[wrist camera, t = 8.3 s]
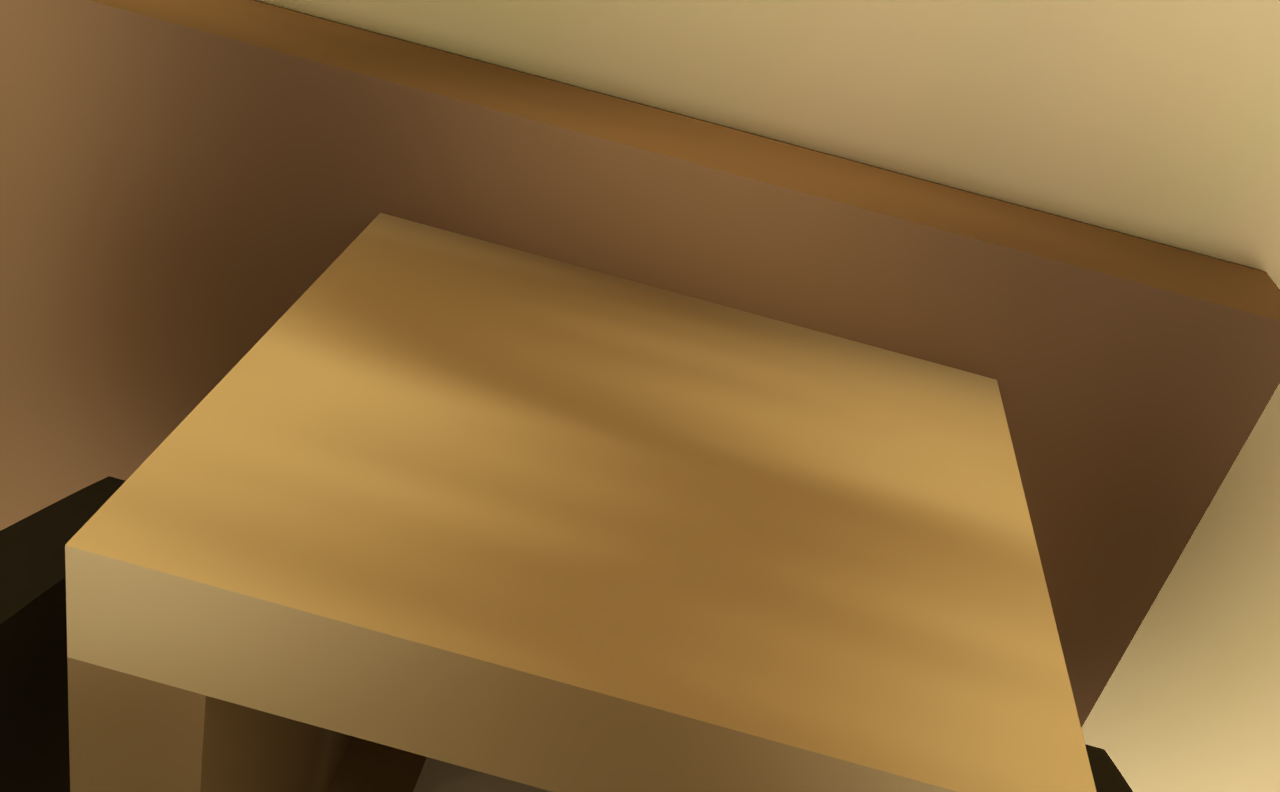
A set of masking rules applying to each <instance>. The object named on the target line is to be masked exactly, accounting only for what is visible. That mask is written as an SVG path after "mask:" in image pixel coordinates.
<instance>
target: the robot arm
mask: <svg viewBox="0 0 1280 792" xmlns="http://www.w3.org/2000/svg"><path fill="white" fill-rule="evenodd" d="M124 482H125V480H121V479H118V478H114V477H110V476H108V477H106V478H104V479H102V480H100V481H98V482H96V483H94V484H91V485H89V486H87V487H85V488H83V489H81V490H79V491H77V492H75V493H73V494H71V495H69V496H67V497H65V498H63V499H61V500H59V501H57V502H55V503H53V504H51V505H50V506H48V507H46V508H44V509H42V510H40V511H38V512H36V513H34V514H32V515H30V516H28V517H26V518H24V519H22V520H20V521H18V522H17V523H15V524H13V525H11V526H9V527H7V528H5V529H3V530H1V531H0V792H70V759H69V712H68V665H67V618H66V571H65V545H66V543H67V542H68V541H69V540H70V539H71V538H72V537H73V536H74V535H75V534H76V533H77V532H78V531H79V530H80V529H81V528H82V527H83V526H84V525H85V523H86V522H87V521H88V520H89V519H90V518H91V517H92V516H93V515H94V514H95V513H96V512H97V511H98V510H99V509H100V508H101V507H102V506H103V504H104V503H105V502H106V501H107V500H108V499H109V498H110V497H111V496H112V495H113V494H114V493H115V492H116V491H117V490H118V489H119V488H120V487H121V486H122V484H123V483H124ZM1085 746H1086V750H1087V754H1088V759H1089V763H1090V767H1091V771H1092V775H1093V779H1094V783H1095V788H1096V792H1133V791H1132V790H1131V788H1130V787H1129V785H1128V784H1127V782H1126V781H1125V779H1124V778H1123V776H1122V775H1121V773H1120V772H1119V770H1118V769H1117V767H1116V766H1115V764H1114V763H1113V761H1112V760H1111V759H1110V757H1109V756H1108V754H1107V753H1106V751H1105V750H1104V749H1100V748H1097V747H1093V746H1089V745H1086V744H1085Z"/></svg>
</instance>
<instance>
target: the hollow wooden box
mask: <svg viewBox="0 0 1280 792" xmlns="http://www.w3.org/2000/svg"><path fill="white" fill-rule="evenodd" d="M65 571H66V618H67V665H68V712H69V759H70V792H413V791H414V788H415V786H416V783H417V781H418V778H419V776H420V773H421V771H422V768H423V766H424V763H425V761H426V758H427V757H429V758H433V759H436V760H440V761H444V762H447V763H451V764H454V765H458V766H462V767H465V768H469V769H472V770H476V771H480V772H483V773H487V774H490V775H494V776H498V777H501V778H505V779H508V780H512V781H516V782H519V783H523V784H526V785H530V786H534V787H537V788H541V789H544V790H548V791H552V792H1096V788H1095V783H1094V779H1093V775H1092V771H1091V767H1090V763H1089V759H1088V754H1087V750H1086V746H1085V742H1084V738H1083V734H1082V730H1081V726H1080V721H1079V717H1078V713H1077V709H1076V705H1075V701H1074V697H1073V692H1072V688H1071V684H1070V680H1069V676H1068V672H1067V668H1066V664H1065V659H1064V655H1063V651H1062V647H1061V643H1060V639H1059V635H1058V630H1057V626H1056V622H1055V618H1054V614H1053V610H1052V606H1051V602H1050V597H1049V593H1048V589H1047V585H1046V581H1045V577H1044V573H1043V568H1042V564H1041V560H1040V556H1039V552H1038V548H1037V544H1036V540H1035V535H1034V531H1033V527H1032V523H1031V519H1030V515H1029V511H1028V506H1027V502H1026V498H1025V494H1024V490H1023V486H1022V482H1021V478H1020V473H1019V469H1018V465H1017V461H1016V457H1015V453H1014V449H1013V444H1012V440H1011V436H1010V432H1009V428H1008V424H1007V420H1006V416H1005V411H1004V407H1003V403H1002V399H1001V395H1000V391H999V387H998V382H997V380H996V379H992V378H988V377H985V376H981V375H977V374H974V373H970V372H966V371H963V370H959V369H955V368H951V367H948V366H944V365H940V364H937V363H933V362H929V361H926V360H922V359H918V358H915V357H911V356H907V355H904V354H900V353H896V352H892V351H889V350H885V349H881V348H878V347H874V346H870V345H867V344H863V343H859V342H856V341H852V340H848V339H845V338H841V337H837V336H833V335H830V334H826V333H822V332H819V331H815V330H811V329H808V328H804V327H800V326H797V325H793V324H789V323H786V322H782V321H778V320H774V319H771V318H767V317H763V316H760V315H756V314H752V313H749V312H745V311H741V310H738V309H734V308H730V307H727V306H723V305H719V304H715V303H712V302H708V301H704V300H701V299H697V298H693V297H690V296H686V295H682V294H679V293H675V292H671V291H668V290H664V289H660V288H656V287H653V286H649V285H645V284H642V283H638V282H634V281H631V280H627V279H623V278H620V277H616V276H612V275H608V274H605V273H601V272H597V271H594V270H590V269H586V268H583V267H579V266H575V265H572V264H568V263H564V262H561V261H557V260H553V259H549V258H546V257H542V256H538V255H535V254H531V253H527V252H524V251H520V250H516V249H513V248H509V247H505V246H502V245H498V244H494V243H490V242H487V241H483V240H479V239H476V238H472V237H468V236H465V235H461V234H457V233H454V232H450V231H446V230H443V229H439V228H435V227H431V226H428V225H424V224H420V223H417V222H413V221H409V220H406V219H402V218H398V217H395V216H391V215H387V214H384V213H380V214H379V215H378V216H377V217H376V218H375V219H374V220H373V221H372V222H371V223H370V224H369V225H368V226H367V227H366V228H365V229H364V231H363V232H362V233H361V234H360V235H359V236H358V237H357V238H356V239H355V240H354V241H353V242H352V243H351V244H350V245H349V246H348V247H347V248H346V249H345V251H344V252H343V253H342V254H341V255H340V256H339V257H338V258H337V259H336V260H335V261H334V262H333V263H332V264H331V265H330V266H329V267H328V268H327V270H326V271H325V272H324V273H323V274H322V275H321V276H320V277H319V278H318V279H317V280H316V281H315V282H314V283H313V284H312V285H311V286H310V287H309V288H308V290H307V291H306V292H305V293H304V294H303V295H302V296H301V297H300V298H299V299H298V300H297V301H296V302H295V303H294V304H293V305H292V306H291V307H290V309H289V310H288V311H287V312H286V313H285V314H284V315H283V316H282V317H281V318H280V319H279V320H278V321H277V322H276V323H275V324H274V325H273V326H272V327H271V329H270V330H269V331H268V332H267V333H266V334H265V335H264V336H263V337H262V338H261V339H260V340H259V341H258V342H257V343H256V344H255V345H254V346H253V347H252V349H251V350H250V351H249V352H248V353H247V354H246V355H245V356H244V357H243V358H242V359H241V360H240V361H239V362H238V363H237V364H236V365H235V366H234V368H233V369H232V370H231V371H230V372H229V373H228V374H227V375H226V376H225V377H224V378H223V379H222V380H221V381H220V382H219V383H218V384H217V385H216V386H215V388H214V389H213V390H212V391H211V392H210V393H209V394H208V395H207V396H206V397H205V398H204V399H203V400H202V401H201V402H200V403H199V404H198V405H197V407H196V408H195V409H194V410H193V411H192V412H191V413H190V414H189V415H188V416H187V417H186V418H185V419H184V420H183V421H182V422H181V423H180V424H179V425H178V427H177V428H176V429H175V430H174V431H173V432H172V433H171V434H170V435H169V436H168V437H167V438H166V439H165V440H164V441H163V442H162V443H161V444H160V445H159V447H158V448H157V449H156V450H155V451H154V452H153V453H152V454H151V455H150V456H149V457H148V458H147V459H146V460H145V461H144V462H143V463H142V464H141V466H140V467H139V468H138V469H137V470H136V471H135V472H134V473H133V474H132V475H131V476H130V477H129V478H128V479H127V480H126V481H125V482H124V483H123V484H122V486H121V487H120V488H119V489H118V490H117V491H116V492H115V493H114V494H113V495H112V496H111V497H110V498H109V499H108V500H107V501H106V502H105V503H104V504H103V506H102V507H101V508H100V509H99V510H98V511H97V512H96V513H95V514H94V515H93V516H92V517H91V518H90V519H89V520H88V521H87V522H86V523H85V525H84V526H83V527H82V528H81V529H80V530H79V531H78V532H77V533H76V534H75V535H74V536H73V537H72V538H71V539H70V540H69V541H68V542H67V543H66V545H65Z"/></svg>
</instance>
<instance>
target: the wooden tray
mask: <svg viewBox="0 0 1280 792" xmlns="http://www.w3.org/2000/svg"><path fill="white" fill-rule="evenodd" d="M380 213H384V214H387V215H391V216H395V217H398V218H402V219H406V220H409V221H413V222H417V223H420V224H424V225H428V226H431V227H435V228H439V229H443V230H446V231H450V232H454V233H457V234H461V235H465V236H468V237H472V238H476V239H479V240H483V241H487V242H490V243H494V244H498V245H502V246H505V247H509V248H513V249H516V250H520V251H524V252H527V253H531V254H535V255H538V256H542V257H546V258H549V259H553V260H557V261H561V262H564V263H568V264H572V265H575V266H579V267H583V268H586V269H590V270H594V271H597V272H601V273H605V274H608V275H612V276H616V277H620V278H623V279H627V280H631V281H634V282H638V283H642V284H645V285H649V286H653V287H656V288H660V289H664V290H668V291H671V292H675V293H679V294H682V295H686V296H690V297H693V298H697V299H701V300H704V301H708V302H712V303H715V304H719V305H723V306H727V307H730V308H734V309H738V310H741V311H745V312H749V313H752V314H756V315H760V316H763V317H767V318H771V319H774V320H778V321H782V322H786V323H789V324H793V325H797V326H800V327H804V328H808V329H811V330H815V331H819V332H822V333H826V334H830V335H833V336H837V337H841V338H845V339H848V340H852V341H856V342H859V343H863V344H867V345H870V346H874V347H878V348H881V349H885V350H889V351H892V352H896V353H900V354H904V355H907V356H911V357H915V358H918V359H922V360H926V361H929V362H933V363H937V364H940V365H944V366H948V367H951V368H955V369H959V370H963V371H966V372H970V373H974V374H977V375H981V376H985V377H988V378H992V379H996V380H997V382H998V387H999V391H1000V395H1001V399H1002V403H1003V407H1004V411H1005V416H1006V420H1007V424H1008V428H1009V432H1010V436H1011V440H1012V444H1013V449H1014V453H1015V457H1016V461H1017V465H1018V469H1019V473H1020V478H1021V482H1022V486H1023V490H1024V494H1025V498H1026V502H1027V506H1028V511H1029V515H1030V519H1031V523H1032V527H1033V531H1034V535H1035V540H1036V544H1037V548H1038V552H1039V556H1040V560H1041V564H1042V568H1043V573H1044V577H1045V581H1046V585H1047V589H1048V593H1049V597H1050V602H1051V606H1052V610H1053V614H1054V618H1055V622H1056V626H1057V630H1058V635H1059V639H1060V643H1061V647H1062V651H1063V655H1064V659H1065V664H1066V668H1067V672H1068V676H1069V680H1070V684H1071V688H1072V692H1073V697H1074V701H1075V705H1076V709H1077V713H1078V717H1079V721H1080V726H1081V727H1082V725H1083V724H1084V722H1085V720H1086V719H1087V717H1088V715H1089V713H1090V712H1091V710H1092V708H1093V706H1094V705H1095V703H1096V701H1097V699H1098V698H1099V696H1100V694H1101V692H1102V691H1103V689H1104V687H1105V685H1106V684H1107V682H1108V680H1109V678H1110V677H1111V675H1112V673H1113V672H1114V670H1115V668H1116V666H1117V665H1118V663H1119V661H1120V659H1121V658H1122V656H1123V654H1124V652H1125V651H1126V649H1127V647H1128V645H1129V644H1130V642H1131V640H1132V638H1133V637H1134V635H1135V633H1136V631H1137V630H1138V628H1139V626H1140V625H1141V623H1142V621H1143V619H1144V618H1145V616H1146V614H1147V612H1148V611H1149V609H1150V607H1151V605H1152V604H1153V602H1154V600H1155V598H1156V597H1157V595H1158V593H1159V591H1160V590H1161V588H1162V586H1163V584H1164V583H1165V581H1166V579H1167V578H1168V576H1169V574H1170V572H1171V571H1172V569H1173V567H1174V565H1175V564H1176V562H1177V560H1178V558H1179V557H1180V555H1181V553H1182V551H1183V550H1184V548H1185V546H1186V544H1187V543H1188V541H1189V539H1190V537H1191V536H1192V534H1193V532H1194V531H1195V529H1196V527H1197V525H1198V524H1199V522H1200V520H1201V518H1202V517H1203V515H1204V513H1205V511H1206V510H1207V508H1208V506H1209V504H1210V503H1211V501H1212V499H1213V497H1214V496H1215V494H1216V492H1217V490H1218V489H1219V487H1220V485H1221V484H1222V482H1223V480H1224V478H1225V477H1226V475H1227V473H1228V471H1229V470H1230V468H1231V466H1232V464H1233V463H1234V461H1235V459H1236V457H1237V456H1238V454H1239V452H1240V450H1241V449H1242V447H1243V445H1244V443H1245V442H1246V440H1247V438H1248V437H1249V435H1250V433H1251V431H1252V430H1253V428H1254V426H1255V424H1256V423H1257V421H1258V419H1259V417H1260V416H1261V414H1262V412H1263V410H1264V409H1265V407H1266V405H1267V403H1268V402H1269V400H1270V398H1271V396H1272V395H1273V393H1274V391H1275V390H1276V388H1277V386H1278V384H1279V383H1280V290H1279V288H1278V287H1277V286H1276V285H1275V283H1274V282H1273V281H1272V279H1271V278H1270V277H1269V276H1268V274H1267V273H1266V272H1264V271H1260V270H1256V269H1252V268H1249V267H1245V266H1241V265H1238V264H1234V263H1230V262H1226V261H1223V260H1219V259H1215V258H1211V257H1208V256H1204V255H1200V254H1197V253H1193V252H1189V251H1185V250H1182V249H1178V248H1174V247H1170V246H1167V245H1163V244H1159V243H1156V242H1152V241H1148V240H1144V239H1141V238H1137V237H1133V236H1129V235H1126V234H1122V233H1118V232H1115V231H1111V230H1107V229H1103V228H1100V227H1096V226H1092V225H1089V224H1085V223H1081V222H1077V221H1074V220H1070V219H1066V218H1062V217H1059V216H1055V215H1051V214H1048V213H1044V212H1040V211H1036V210H1033V209H1029V208H1025V207H1021V206H1018V205H1014V204H1010V203H1007V202H1003V201H999V200H995V199H992V198H988V197H984V196H980V195H977V194H973V193H969V192H966V191H962V190H958V189H954V188H951V187H947V186H943V185H939V184H936V183H932V182H928V181H925V180H921V179H917V178H913V177H910V176H906V175H902V174H898V173H895V172H891V171H887V170H884V169H880V168H876V167H872V166H869V165H865V164H861V163H857V162H854V161H850V160H846V159H843V158H839V157H835V156H831V155H828V154H824V153H820V152H817V151H813V150H809V149H805V148H802V147H798V146H794V145H790V144H787V143H783V142H779V141H776V140H772V139H768V138H764V137H761V136H757V135H753V134H749V133H746V132H742V131H738V130H735V129H731V128H727V127H723V126H720V125H716V124H712V123H708V122H705V121H701V120H697V119H694V118H690V117H686V116H682V115H679V114H675V113H671V112H667V111H664V110H660V109H656V108H653V107H649V106H645V105H641V104H638V103H634V102H630V101H626V100H623V99H619V98H615V97H612V96H608V95H604V94H600V93H597V92H593V91H589V90H585V89H582V88H578V87H574V86H571V85H567V84H563V83H559V82H556V81H552V80H548V79H544V78H541V77H537V76H533V75H530V74H526V73H522V72H518V71H515V70H511V69H507V68H504V67H500V66H496V65H492V64H489V63H485V62H481V61H477V60H474V59H470V58H466V57H463V56H459V55H455V54H451V53H448V52H444V51H440V50H436V49H433V48H429V47H425V46H422V45H418V44H414V43H410V42H407V41H403V40H399V39H395V38H392V37H388V36H384V35H381V34H377V33H373V32H369V31H366V30H362V29H358V28H354V27H351V26H347V25H343V24H340V23H336V22H332V21H328V20H325V19H321V18H317V17H313V16H310V15H306V14H302V13H299V12H295V11H291V10H287V9H284V8H280V7H276V6H272V5H269V4H265V3H261V2H258V1H254V0H0V531H1V530H3V529H5V528H7V527H9V526H11V525H13V524H15V523H17V522H18V521H20V520H22V519H24V518H26V517H28V516H30V515H32V514H34V513H36V512H38V511H40V510H42V509H44V508H46V507H48V506H50V505H51V504H53V503H55V502H57V501H59V500H61V499H63V498H65V497H67V496H69V495H71V494H73V493H75V492H77V491H79V490H81V489H83V488H85V487H87V486H89V485H91V484H94V483H96V482H98V481H100V480H102V479H104V478H106V477H108V476H110V477H114V478H118V479H121V480H125V481H126V480H127V479H128V478H129V477H130V476H131V475H132V474H133V473H134V472H135V471H136V470H137V469H138V468H139V467H140V466H141V464H142V463H143V462H144V461H145V460H146V459H147V458H148V457H149V456H150V455H151V454H152V453H153V452H154V451H155V450H156V449H157V448H158V447H159V445H160V444H161V443H162V442H163V441H164V440H165V439H166V438H167V437H168V436H169V435H170V434H171V433H172V432H173V431H174V430H175V429H176V428H177V427H178V425H179V424H180V423H181V422H182V421H183V420H184V419H185V418H186V417H187V416H188V415H189V414H190V413H191V412H192V411H193V410H194V409H195V408H196V407H197V405H198V404H199V403H200V402H201V401H202V400H203V399H204V398H205V397H206V396H207V395H208V394H209V393H210V392H211V391H212V390H213V389H214V388H215V386H216V385H217V384H218V383H219V382H220V381H221V380H222V379H223V378H224V377H225V376H226V375H227V374H228V373H229V372H230V371H231V370H232V369H233V368H234V366H235V365H236V364H237V363H238V362H239V361H240V360H241V359H242V358H243V357H244V356H245V355H246V354H247V353H248V352H249V351H250V350H251V349H252V347H253V346H254V345H255V344H256V343H257V342H258V341H259V340H260V339H261V338H262V337H263V336H264V335H265V334H266V333H267V332H268V331H269V330H270V329H271V327H272V326H273V325H274V324H275V323H276V322H277V321H278V320H279V319H280V318H281V317H282V316H283V315H284V314H285V313H286V312H287V311H288V310H289V309H290V307H291V306H292V305H293V304H294V303H295V302H296V301H297V300H298V299H299V298H300V297H301V296H302V295H303V294H304V293H305V292H306V291H307V290H308V288H309V287H310V286H311V285H312V284H313V283H314V282H315V281H316V280H317V279H318V278H319V277H320V276H321V275H322V274H323V273H324V272H325V271H326V270H327V268H328V267H329V266H330V265H331V264H332V263H333V262H334V261H335V260H336V259H337V258H338V257H339V256H340V255H341V254H342V253H343V252H344V251H345V249H346V248H347V247H348V246H349V245H350V244H351V243H352V242H353V241H354V240H355V239H356V238H357V237H358V236H359V235H360V234H361V233H362V232H363V231H364V229H365V228H366V227H367V226H368V225H369V224H370V223H371V222H372V221H373V220H374V219H375V218H376V217H377V216H378V215H379V214H380ZM413 792H552V791H548V790H544V789H541V788H537V787H534V786H530V785H526V784H523V783H519V782H516V781H512V780H508V779H505V778H501V777H498V776H494V775H490V774H487V773H483V772H480V771H476V770H472V769H469V768H465V767H462V766H458V765H454V764H451V763H447V762H444V761H440V760H436V759H433V758H429V757H427V758H426V761H425V763H424V766H423V768H422V771H421V773H420V776H419V778H418V781H417V783H416V786H415V788H414V791H413Z"/></svg>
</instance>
